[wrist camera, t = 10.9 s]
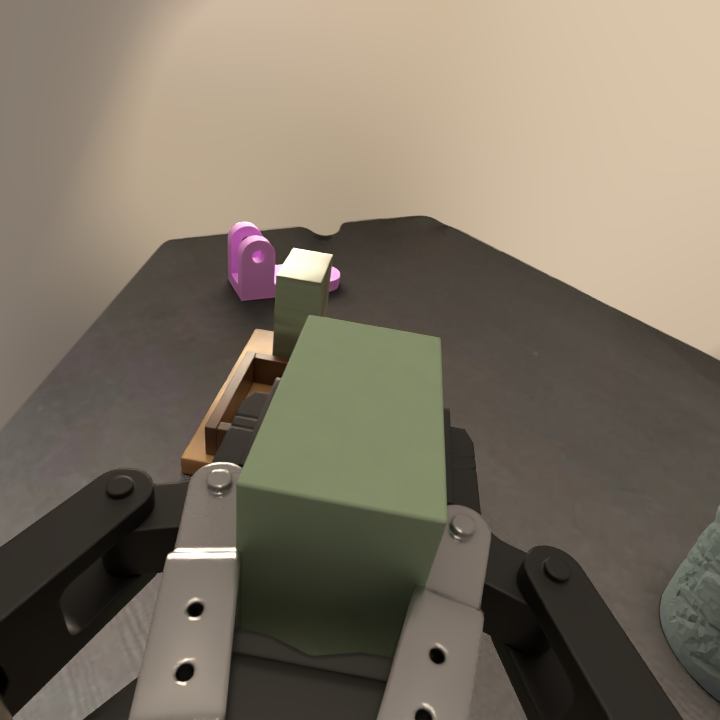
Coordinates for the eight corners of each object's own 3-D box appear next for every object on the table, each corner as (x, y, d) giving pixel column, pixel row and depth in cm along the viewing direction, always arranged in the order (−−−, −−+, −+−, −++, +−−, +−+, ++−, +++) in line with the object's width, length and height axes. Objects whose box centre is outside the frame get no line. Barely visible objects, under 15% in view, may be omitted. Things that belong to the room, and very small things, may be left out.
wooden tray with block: (324, 499, 35) (342, 375, 29) (181, 473, 35) (171, 345, 29) (355, 358, 50) (370, 258, 44) (255, 341, 50) (257, 239, 44)
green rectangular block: (367, 752, 13) (448, 522, 8) (233, 726, 13) (234, 483, 8) (385, 553, 18) (441, 336, 13) (288, 535, 18) (308, 313, 13)
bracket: (241, 301, 57) (241, 241, 53) (228, 279, 61) (227, 222, 57) (346, 290, 62) (353, 235, 59) (327, 271, 66) (333, 218, 62)
